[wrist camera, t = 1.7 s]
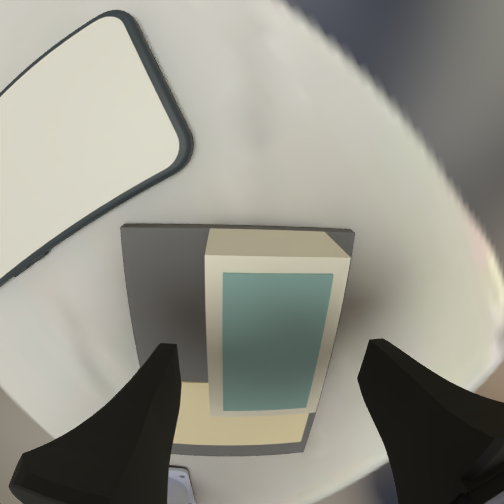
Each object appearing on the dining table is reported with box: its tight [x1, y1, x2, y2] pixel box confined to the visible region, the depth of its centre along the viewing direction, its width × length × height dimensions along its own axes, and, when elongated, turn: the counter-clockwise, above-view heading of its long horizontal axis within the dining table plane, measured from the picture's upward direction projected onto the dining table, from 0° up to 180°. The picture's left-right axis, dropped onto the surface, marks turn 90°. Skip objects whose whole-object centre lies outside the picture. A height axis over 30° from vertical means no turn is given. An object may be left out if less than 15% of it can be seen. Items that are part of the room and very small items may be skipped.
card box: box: [205, 228, 351, 417], centre depth 13 cm, size 8×5×3 cm, turn 177°
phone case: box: [0, 10, 193, 287], centre depth 11 cm, size 9×2×16 cm
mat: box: [120, 224, 355, 456], centre depth 16 cm, size 17×10×1 cm, turn 177°
